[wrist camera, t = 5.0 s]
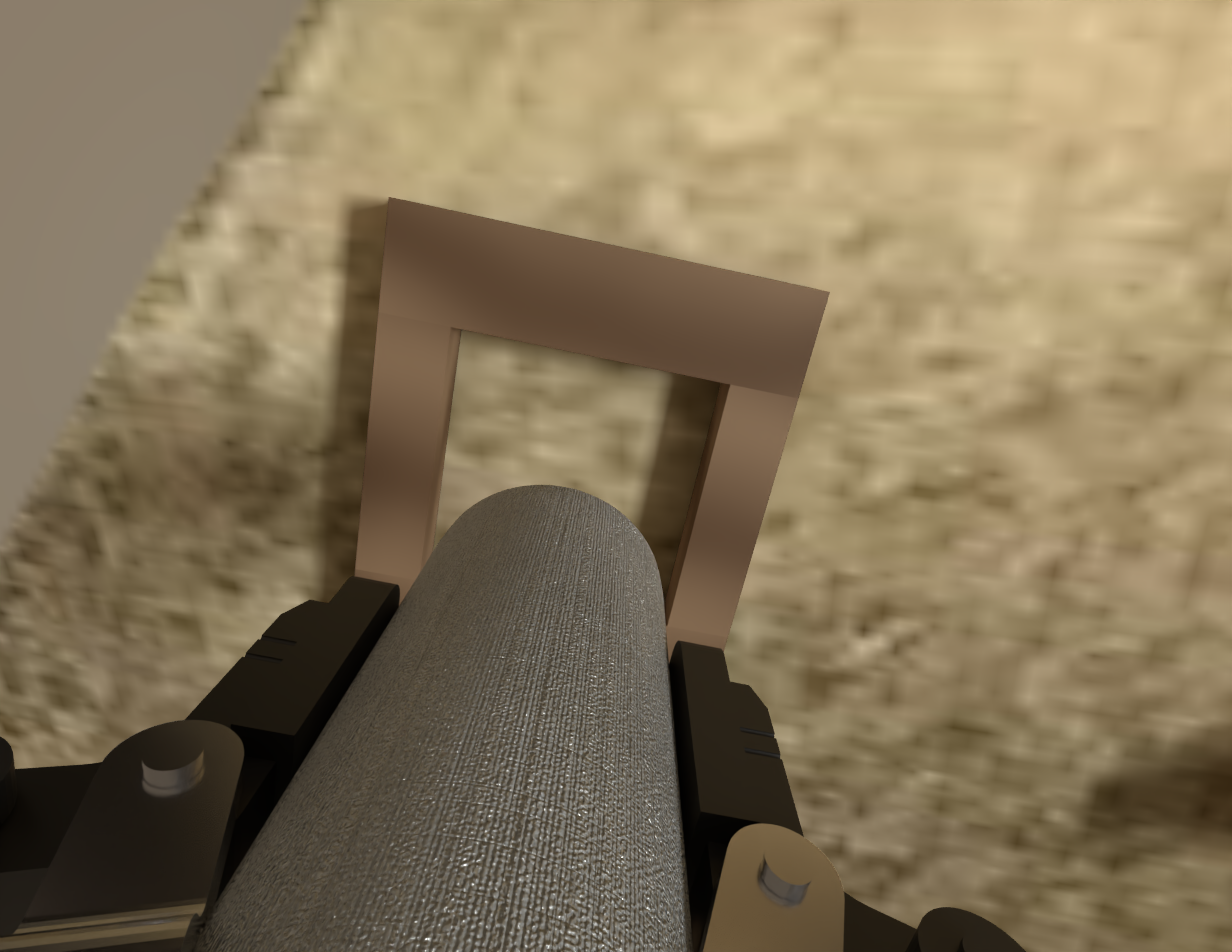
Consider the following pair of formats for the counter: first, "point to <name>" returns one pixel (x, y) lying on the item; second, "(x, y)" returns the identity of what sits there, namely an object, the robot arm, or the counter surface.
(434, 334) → the socket board
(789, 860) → the robot arm
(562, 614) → the grey hollow tube
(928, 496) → the counter surface
